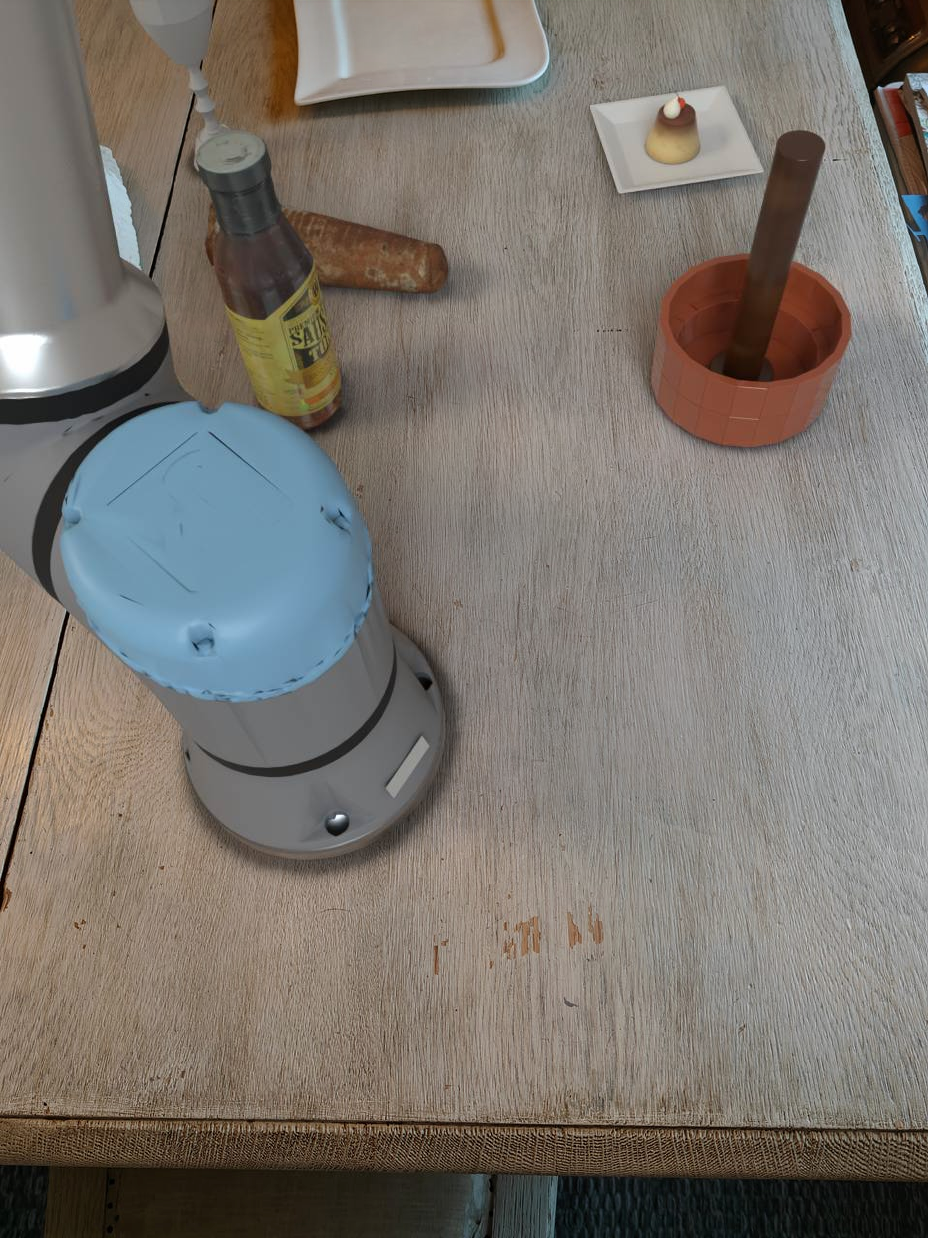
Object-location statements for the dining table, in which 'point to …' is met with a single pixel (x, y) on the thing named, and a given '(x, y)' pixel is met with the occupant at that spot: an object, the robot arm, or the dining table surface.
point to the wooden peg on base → (771, 255)
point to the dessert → (674, 139)
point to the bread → (360, 254)
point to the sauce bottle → (269, 284)
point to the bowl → (796, 351)
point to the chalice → (184, 47)
